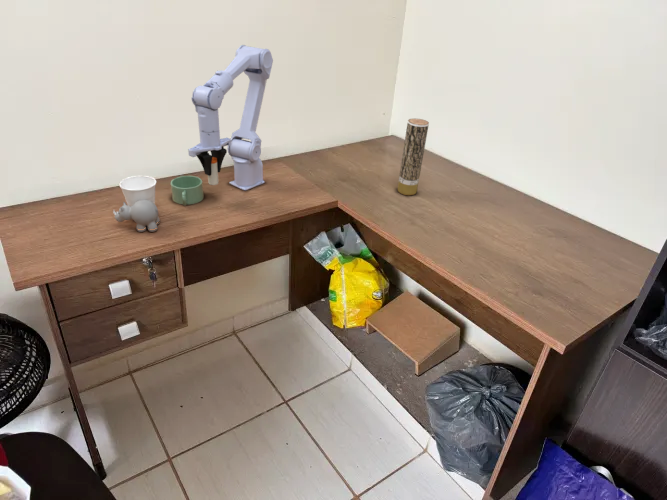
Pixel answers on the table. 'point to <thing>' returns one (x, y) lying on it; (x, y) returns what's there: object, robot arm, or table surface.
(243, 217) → the table surface
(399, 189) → the paper tube
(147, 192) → the cup
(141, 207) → the chubby cartoon animal
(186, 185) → the mug
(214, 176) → the glue stick
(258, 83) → the robot arm
